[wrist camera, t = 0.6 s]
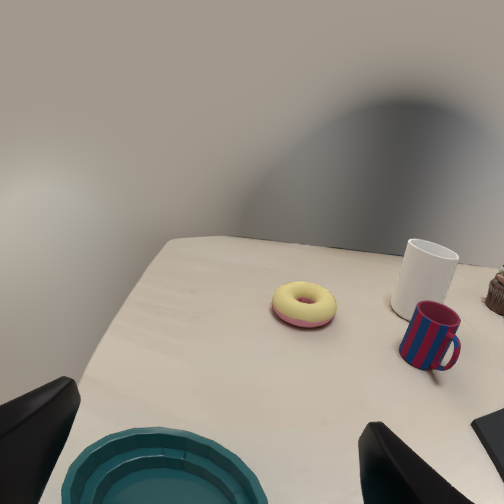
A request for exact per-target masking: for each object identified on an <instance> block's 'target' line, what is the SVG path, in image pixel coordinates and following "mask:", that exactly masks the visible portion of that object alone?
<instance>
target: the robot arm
mask: <svg viewBox="0 0 504 504" xmlns="http://www.w3.org/2000/svg"><path fill="white" fill-rule="evenodd" d="M80 402H81V398H80V394H79V391H78V388H77V384H76V382H75V381H74V379H71V378H68V377H66V376H62V377H60V378H58V379H56V380H54V381H52V382H49V383H47V384H45V385H43V386H41V387H39V388H37V389H35V390H33V391H31V392H28V393H26V394H24V395H22V396H20V397H18V398H15V399H13V400H11V401H9V402H7V403H5V404H3V405H0V504H38V503H39V501H40V498H41V496H42V494H43V491H44V489H45V487H46V484H47V482H48V480H49V478H50V475H51V473H52V471H53V469H54V466H55V464H56V462H57V460H58V458H59V456H60V454H61V452H62V449H63V447H64V445H65V443H66V441H67V438H68V436H69V433H70V430H71V427H72V425H73V422H74V419H75V416H76V413H77V411H78V408H79V405H80ZM358 448H359V463H360V481H361V489H362V495H363V501H364V504H474V503H473V502H472V501H470V500H469V499H468V498H466V497H465V496H464V495H463V494H461V493H460V492H459V491H458V490H457V489H456V488H454V487H453V486H452V485H451V484H450V483H449V482H447V481H446V480H445V479H444V478H443V477H442V476H441V475H439V474H438V473H437V472H436V471H435V470H434V469H433V468H432V467H431V466H429V465H428V464H427V463H426V462H425V461H424V460H423V459H422V458H421V457H419V456H418V455H417V454H416V453H415V452H414V451H413V450H412V449H411V448H410V447H408V446H407V445H406V444H405V443H404V442H403V441H402V440H401V439H400V438H399V437H398V436H397V435H396V434H394V433H393V432H392V431H391V430H390V429H389V428H388V427H387V426H386V425H385V424H384V423H382V422H380V421H378V422H369V423H368V424H367V426H366V427H365V429H364V431H363V433H362V434H361V436H360V438H359V441H358Z"/></svg>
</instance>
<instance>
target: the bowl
mask: <svg viewBox="0 0 504 504" xmlns="http://www.w3.org/2000/svg"><path fill="white" fill-rule="evenodd" d="M61 496H62V504H268V500H267V497H266V495H265V493H264V491H263V489H262V487H261V485H260V483H259V480H258V478H257V477H256V475H255V474H254V473H253V472H252V471H251V470H250V469H249V468H248V467H247V465H246V464H245V463H244V462H243V461H242V460H241V459H240V458H239V457H238V456H237V455H235V454H234V453H232V452H231V451H229V450H228V449H226V448H224V447H223V446H221V445H220V444H218V443H217V442H215V441H213V440H210V439H208V438H205V437H202V436H199V435H197V434H194V433H191V432H189V431H184V430H177V429H170V428H164V427H147V428H132V429H128V430H125V431H121V432H118V433H114V434H110V435H108V436H105V437H104V438H102V439H100V440H98V441H97V442H95V443H93V444H92V445H90V446H88V447H87V448H85V449H84V451H83V452H82V453H81V454H80V455H79V456H78V457H77V458H76V459H75V461H74V462H73V463H72V464H71V465H70V467H69V469H68V472H67V475H66V477H65V480H64V483H63V485H62V489H61Z"/></svg>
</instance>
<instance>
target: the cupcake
mask: <svg viewBox="0 0 504 504" xmlns="http://www.w3.org/2000/svg"><path fill="white" fill-rule="evenodd" d="M486 305H487V306H488V307H489V308H490V309H491V310H492V311H494V312H495V313H497V314H500V315H502V316H504V265H503V267H500V268H499V273H497V274H496V276H495V278H494V279H493V280H492V281H490V284H489V290H488V295H487V299H486Z"/></svg>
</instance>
